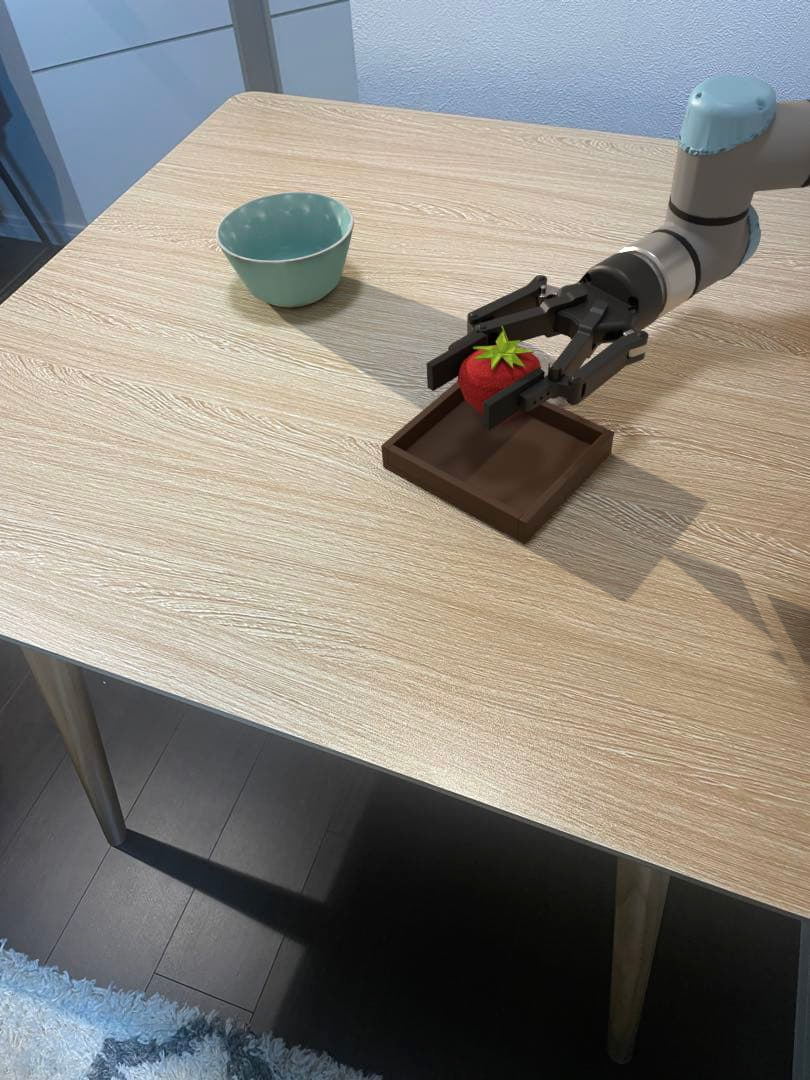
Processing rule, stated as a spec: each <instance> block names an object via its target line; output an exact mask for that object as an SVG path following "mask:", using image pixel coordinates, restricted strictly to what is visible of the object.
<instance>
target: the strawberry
mask: <svg viewBox="0 0 810 1080" xmlns="http://www.w3.org/2000/svg"><path fill="white" fill-rule="evenodd" d="M502 329H503V331H502V333H501V334H500V336H499V337H498V338H497V340H496V344H497V345H493V346H479V347H473V349H478V350H477V351H476V352H474V353H473V354H471V355H470V356H469V357H467V358H466V359H465V360H464V361H463V363H462V364H461V367H460V371H459V375H458V377H457V381H458V383H459V386H460V388H461V391H462V393H463V396H464V398H465V400H466V401H467V402H468V403H469V404H471V405H472V406H473V407H474V408H475V409H476V410H477V411H478V412H479V413H480V414H482V415H483V402H484V401H485V400H487V399H488V398H490V397H492V396H493V395H495V394H497V393H498V392H500V391H501V390H503V389H505V388H506V387H508V386H509V385H511V384H513V383H514V382H516V381H517V380H519V379H521V378H522V377H524V376H525V375H527V374H529V373H530V372H532V371H533V370H535V369H537V368H538V367H539V368H540V369H542V365H541V361H540V360H539V357H538V356H536V355H535V354H534V353H535V351H534V350H531V349H530V350H529V349H527V348H524V347H522V346H520V345H519V346H518V344H519V343H521V342H520V341H521V340H517V341H508V338H507V336H506V333H505V331H504V328H503V326H502ZM503 332H504V333H503ZM504 334H505V336H504ZM505 337H506V339H507V341H506V339H505ZM517 413H518V412H517ZM515 414H516V413H515ZM515 414H514V415H515ZM514 415H512V416H514ZM512 416H511V417H512ZM511 417H509V418H508V419H506V420H505V421H503V422H501V423H500V424H503V423H505V422H507V421H508V420H509V419H510V418H511Z"/></svg>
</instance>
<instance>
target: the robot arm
mask: <svg viewBox="0 0 810 1080" xmlns="http://www.w3.org/2000/svg"><path fill="white" fill-rule="evenodd" d="M683 114H684V115H683V119H682V123H681V128H680V130H679V134H678V137H677V148H676V149H677V151H676V156H675V163H674V169H673V175H672V181H671V189H670V193H669V199H668V203H667V208H666V214H665V219H664V223H663V224H662V225H661V226H660V227H657V228H656V229H655V230H653V231H651V232H649V233H647V234H646V235H644V237H642V238H639V239H638V240H636V241H634V242H632V243H630V244H629V245H627V246H625V247H624V248H622V249H620V250H618V251H617V252H616V253H613V254H611V255H610V256H608V257H606V258H605V259H604V260H601V261H600V262H598V263H597V264H594V265H592V266H591V267H590V268H589V269H588V270H587V271H586V272H585V273H584V274H583V275H582V277H581V278H580V279H579V280H578V281H577V282H575V283H572V284H566V285H563V286H561V287H560V288H559V287H556V286H553V285H550V284H548V277H547V276H545V275H542V274H539V275H536V276H534V278H532V280H531V281H529V283H528V284H526V285H525V286H522V287H520V288H518V289H516V290H514V291H512V292H510V293H508V294H505V295H504V296H502V297H500V298H497V299H495V300H493V301H491V302H489V303H487V304H485V305H483V306H481V307H478V308H476V309H474V310H472V311H470V312H468V313H467V314H466V335H463V336H462V337H460V338H459V339H456V341H453V342H452V343H450V344H449V345H448V347H447V350H446V351H445V352H442V353H441V354H439V355H438V356H436V357H434V358H432V359H431V360H429V361H427V362H426V382H427V385H426V386H427V389H428V390H431V391H432V392H435V391H436V390H438V389H439V388H441V387H443V386H445V385H446V384H448V383H450V382H451V381H453V380H454V379H457V378H458V375H459V371H460V367H461V364H462V363H463V361H464V360H465V359H466V358H467V357H469V356H470V355H471V354H473V353H474V352H476V351H477V350H478V349H473V347H479V346H493V345H497V344H496V340H497V338H498V337H499V336H500V334H501V333H502V331H503V329H502V326H503V328H504V331H505V333H506V336H507V338H508V341H517V340H521V341H520V342H519V343H521V342H524V341H525V342H526V341H528V340H533V339H535V338H539V337H542V336H545V337H546V338H547V339H549V338H553V337H556V336H557V337H558V336H560V335H563V336H565V337H568V338H569V339H570V341H569V342H568V344H567V345H566V346H565V348H564V349H563V350H562V352H561V353H560V355H559V356H558V357H557V358H556V360H555V361H554V362H553V363H552V364H551V363H548V366H547V375H545V374H546V371H545V370H543V369H542V368H541V369H540V368H539V367H538V368H537V369H535V370H533V371H532V372H530V373H529V374H527V375H525V376H524V377H522V378H521V379H519V380H517V381H516V382H514V383H513V384H511V385H509V386H508V387H506V388H505V389H503V390H501V391H500V392H498V393H497V394H495V395H493V396H492V397H490V398H488V399H487V400H485V401H484V402H483V427H485V428H486V429H488V430H491V429H492V428H494V427H495V426H497V425H498V424H500V423H501V422H503V421H505V420H506V419H508V418H509V417H511V416H512V415H514V414H515V413H517V412H519V411H520V410H523V411H525V412H528V411H531V410H533V409H535V408H536V407H538V406H539V405H541V404H542V403H544V402H545V401H548V400H550V399H552V400H554V399H558V398H563V399H565V400H566V403H567V404H568V405H571V406H577V405H578V404H581V402H583V401H585V400H586V399H587V398H588V397H589V396H590V395H592V394H593V393H594V392H595V391H597V390H599V388H600V387H601V386H603V385H604V384H605V383H606V382H608V381H609V380H611V378H613V377H615V376H616V375H617V374H618V373H619V372H620V371H622V370H623V369H624V368H625V367H626V366H630V365H632V364H635V363H638V362H641V361H643V360H645V356H646V351H647V346H648V339H649V333H648V332H647V331H645V330H644V329H646V328H647V327H649V326H650V325H652V324H654V322H656V321H657V320H659V319H661V318H662V317H664V316H665V315H668V313H670V312H671V311H673V310H675V309H676V308H678V307H679V306H681V305H682V304H684V303H685V302H687V301H689V300H690V299H692V298H693V297H694V296H695V295H697V294H699V293H700V292H702V291H704V290H706V289H707V288H709V287H710V286H712V285H714V284H716V283H717V282H720V281H722V280H725V279H727V278H728V277H730V276H731V275H733V273H734V272H736V271H737V270H738V268H740V267H741V266H742V265H744V264H745V263H746V262H747V261H749V260H750V259H751V258H752V257H753V256H754V255H755V253H756V251H757V249H758V247H759V245H760V243H761V237H762V229H761V227H760V222H759V220H760V218H759V214H758V212H757V210H756V209H755V208H754V207H755V206H753V205H752V201H753V197H754V195H755V193H757V192H766V191H776V190H777V191H779V190H787V189H804V188H808V187H809V188H810V98H809V99H807V98H806V99H794V100H782V101H781V100H779V101H777V94H776V91H775V89H774V88H773V87H772V85H770V84H769V83H768V82H767V81H765V80H763V79H761V78H758V77H755V76H750V75H747V76H739V75H736V74H723V75H718V76H713V77H710V78H707V79H706V80H703V81H702V82H700V83H699V84H698V85H696V87H694V89H693V90H692V91H691V93H690V95H689V97H688V101H687V104H686V108H685V111H684V113H683ZM503 333H504V332H503ZM504 336H505V334H504ZM505 339H506V337H505ZM506 341H507V339H506ZM602 344H603V345H604V344H609V345H607V347H605V348H604V349H603V350H601V351H600V352H599V353H598V354H596V355H595V356H594V357H592V356H593V354H594V353H595V352H596V350H597V348H598V347H600V346H602ZM591 357H592V358H591ZM590 358H591V359H590ZM586 360H588V361H587V362H586V363H585V361H586Z"/></svg>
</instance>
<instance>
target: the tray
mask: <svg viewBox="0 0 810 1080" xmlns="http://www.w3.org/2000/svg"><path fill="white" fill-rule="evenodd" d="M614 437H615V431H613V430H611V429H609V428H607V427H605V426H602V425H601V424H598V423H596V422H594V421H591V420H589V419H587V418H585V417H583V416H581V415H578V414H576V413H574V412H572V411H569V410H567V409H565V408H563V407H561V406H559V405H556V404H554V403H552V402H550V401H548V400H547V401H545V402H544V403H542V404H541V405H539V406H538V407H536V408H535V409H533V410H531V411H528V412H525V411H523V410H520V411H519V412H518V413H516V414H515V415H514V416H512V417H511V418H510V419H509V420H508V421H507V422H505V423H503V424H498V425H497V426H495V427H494V428H492V429H491V430H488V429H486V428H485V427H483V415H482V414H480V413H479V412H478V411H477V410H476V409H475V408H474V407H473V406H472V405H471V404H469V403H468V402H467V401H466V400H465V398H464V396H463V393H462V391H461V388H460V386H459V383H458V380H457V381H455V382H454V383H453V384H452V385H451V386H450V387H448V388H447V389H446V390H445V391H444V392H443V393H441V394H440V395H439V396H438V397H437V398H435V399H434V400H433V401H432V402H431V403H429V404H428V405H427V406H426V407H425V408H423V410H422V411H420V412H419V413H418V414H416V415H415V416H414V417H413V418H412V419H410V421H408V422H407V423H405V424H404V426H402V427H401V428H400V429H398V431H396V432H395V433H393V435H392V436H391V437H389V438H388V439H387V440H386V441H384V443H382V444H381V445H380V448H381V460H382V467H383V468H385V469H386V470H389V471H390V472H392V473H394V474H396V475H397V476H399V477H401V478H403V479H405V480H406V481H409V482H410V483H412V484H415V485H416V486H418V487H419V488H421V489H424V490H425V491H426V492H428V493H431V494H433V495H434V496H435V497H438V498H440V499H441V500H443V501H445V502H447V503H449V504H451V505H453V506H454V507H456V508H458V509H460V510H462V511H463V512H466V513H468V514H469V515H471V516H472V517H474V518H476V519H478V520H480V521H482V522H483V523H485V524H487V525H489V526H491V527H493V528H494V529H496V530H498V531H500V532H502V533H504V534H506V535H508V536H509V537H511V538H513V539H515V540H517V542H520V543H522V544H523V545H526V544H527V543H528V542H529V541H530V539H531V538H533V536H534V535H535V534H536V533H537V532H538V531H539V530H540V529H541V528H542V527H543V526H544V525H545V524H546V523H547V522H548V521H549V519H550V518H551V517H552V516H553V515H554V514H555V513H557V511H558V510H559V509H560V508H561V507H562V506H563V505H564V504H565V502H567V501H568V499H570V497H571V496H572V495H573V494H574V493H575V492H576V491H577V490H578V489H579V488H580V487H581V486H582V484H584V483H585V481H587V479H588V478H589V477H590V476H591V475H593V473H594V472H595V471H596V470H597V469H598V468H599V467H600V466H601V465H602V464H603V463H604V462H605V460H607V458H609V457H610V455H611V454H612V449H613V443H614Z"/></svg>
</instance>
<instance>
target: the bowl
mask: <svg viewBox="0 0 810 1080" xmlns="http://www.w3.org/2000/svg"><path fill="white" fill-rule="evenodd" d="M354 227H355V217H354V214H353V212H352V210H351V209H350V208H349V206H347V204H345V203H344V202H343V201H341V200H340V199H338V198H335V197H333V196H330V195H328V194H323V193H319V192H312V191H284V192H283V191H282V192H276V193H272V194H271V193H270V194H266V195H262V196H259V197H256V198H253V199H251V200H248V201H246V202H244V203H242V204H240V205H238V206H236V207H235V208H233V209H232V210H231V211H229V212H228V213H227V214H226V215H225V216H224V217H223V218H221V220H220V222H219V223H218V224H217V228H216V231H215V240H216V243H217V244H218V247H219V248H220V250H221V251H222V253H223V255H224V257H225V258H226V259H227V261H228V262H229V264H230V265H231V267H232V269H233V270H234V271H235V273H236V275H238V278H239V279H240V280H241V282H242V283H243V284H244V286H245V287H246V288H247V290H248V291H249V293H250V294H251V295H252V296H254V297H255V298H256V299H258V300H259V301H262V302H264V303H266V304H269V305H272V306H275V307H279V308H299V307H300V308H301V307H304V306H308V305H312V304H313V303H316V302H318V301H319V300H322V299H323V298H324V297H325V296H327V295H328V294H329V293H330V292H332V291H333V290H334V289H335V288H336V287H337V286H338V284H339V283H340V280H341V278H342V274H343V271H344V267H345V263H346V259H347V256H348V253H349V249H350V246H351V245H350V244H351V241H352V235H353V231H354Z"/></svg>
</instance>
